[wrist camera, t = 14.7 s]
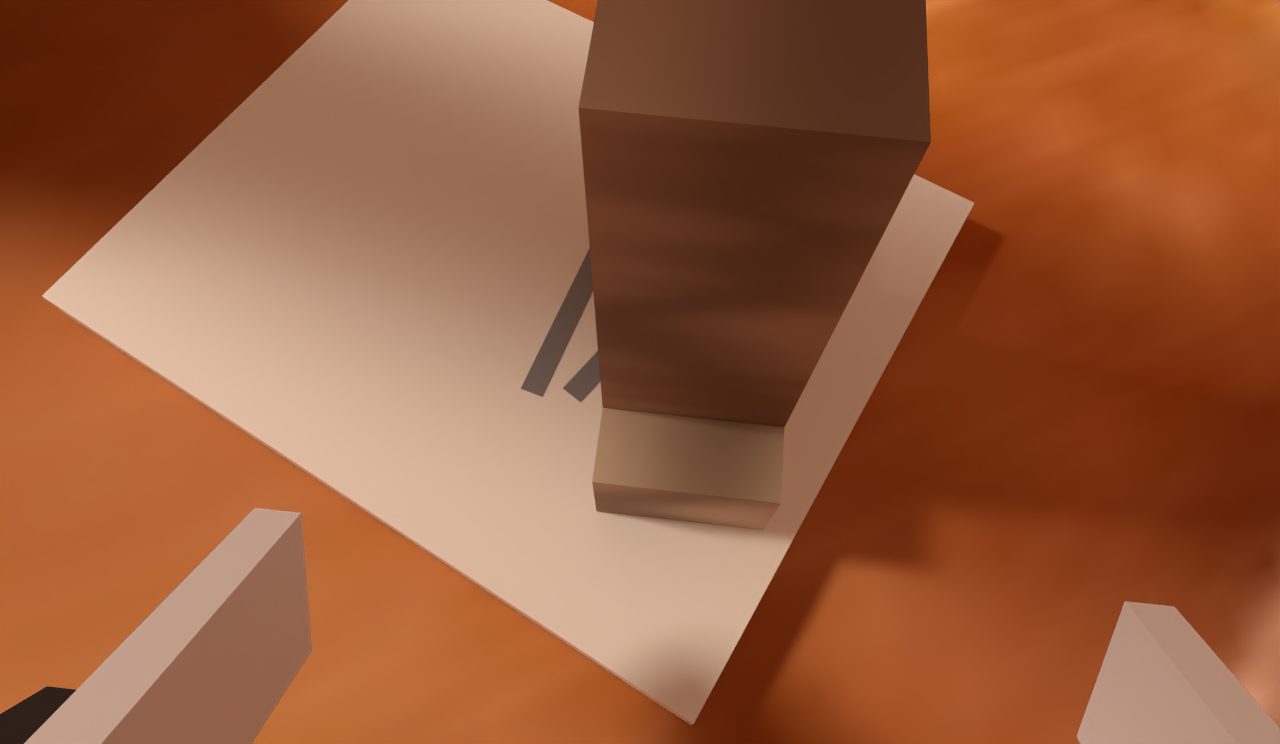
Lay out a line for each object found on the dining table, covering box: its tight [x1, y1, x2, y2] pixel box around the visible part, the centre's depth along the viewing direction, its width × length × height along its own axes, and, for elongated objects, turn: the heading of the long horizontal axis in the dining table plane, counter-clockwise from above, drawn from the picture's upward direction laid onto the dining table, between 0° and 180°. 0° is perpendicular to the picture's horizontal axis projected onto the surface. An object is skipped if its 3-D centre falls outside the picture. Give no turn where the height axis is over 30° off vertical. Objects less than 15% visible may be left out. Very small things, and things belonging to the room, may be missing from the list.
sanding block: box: [578, 0, 931, 530], centre depth 16 cm, size 4×9×12 cm, turn 174°
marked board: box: [42, 0, 974, 724], centre depth 23 cm, size 20×16×1 cm
